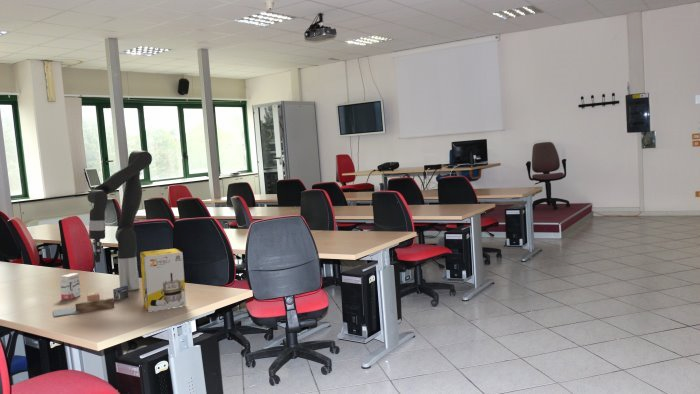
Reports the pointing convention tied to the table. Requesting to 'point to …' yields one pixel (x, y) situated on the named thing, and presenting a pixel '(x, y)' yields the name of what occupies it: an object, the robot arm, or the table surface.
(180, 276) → the packaging box
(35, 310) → the table surface
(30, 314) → the table surface
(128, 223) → the robot arm
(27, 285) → the table surface
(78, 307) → the walnut screen
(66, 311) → the slate mat
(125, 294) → the mini dv tape
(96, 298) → the terracotta block
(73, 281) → the ink box
